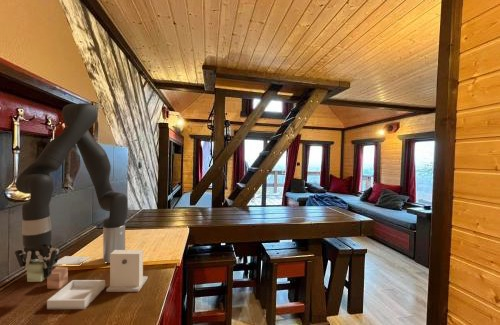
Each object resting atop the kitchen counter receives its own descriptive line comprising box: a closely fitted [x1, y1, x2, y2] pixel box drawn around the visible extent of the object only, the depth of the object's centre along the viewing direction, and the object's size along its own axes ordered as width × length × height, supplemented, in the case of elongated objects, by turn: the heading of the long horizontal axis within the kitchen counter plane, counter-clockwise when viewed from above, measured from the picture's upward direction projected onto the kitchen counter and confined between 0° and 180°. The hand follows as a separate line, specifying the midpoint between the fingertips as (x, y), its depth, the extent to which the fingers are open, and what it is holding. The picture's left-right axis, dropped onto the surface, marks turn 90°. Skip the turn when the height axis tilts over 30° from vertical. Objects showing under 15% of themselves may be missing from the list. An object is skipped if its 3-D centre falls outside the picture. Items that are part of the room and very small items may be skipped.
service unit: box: [105, 249, 149, 293], centre depth 93 cm, size 9×12×14 cm
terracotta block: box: [46, 267, 69, 290], centre depth 91 cm, size 4×4×6 cm
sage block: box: [26, 259, 47, 283], centre depth 82 cm, size 4×4×6 cm
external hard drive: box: [52, 255, 92, 267], centre depth 110 cm, size 2×8×12 cm
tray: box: [46, 279, 106, 311], centre depth 84 cm, size 12×12×3 cm
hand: (39, 276), depth 82 cm, fingers closed on sage block, 4 cm apart
